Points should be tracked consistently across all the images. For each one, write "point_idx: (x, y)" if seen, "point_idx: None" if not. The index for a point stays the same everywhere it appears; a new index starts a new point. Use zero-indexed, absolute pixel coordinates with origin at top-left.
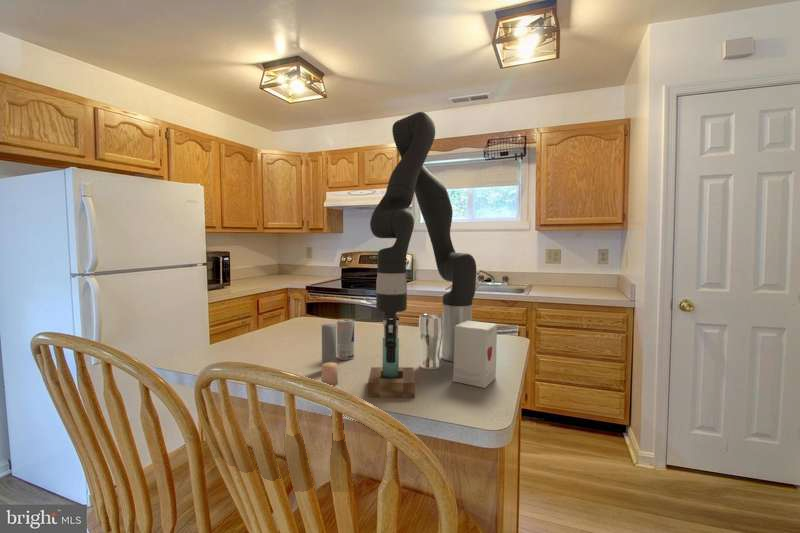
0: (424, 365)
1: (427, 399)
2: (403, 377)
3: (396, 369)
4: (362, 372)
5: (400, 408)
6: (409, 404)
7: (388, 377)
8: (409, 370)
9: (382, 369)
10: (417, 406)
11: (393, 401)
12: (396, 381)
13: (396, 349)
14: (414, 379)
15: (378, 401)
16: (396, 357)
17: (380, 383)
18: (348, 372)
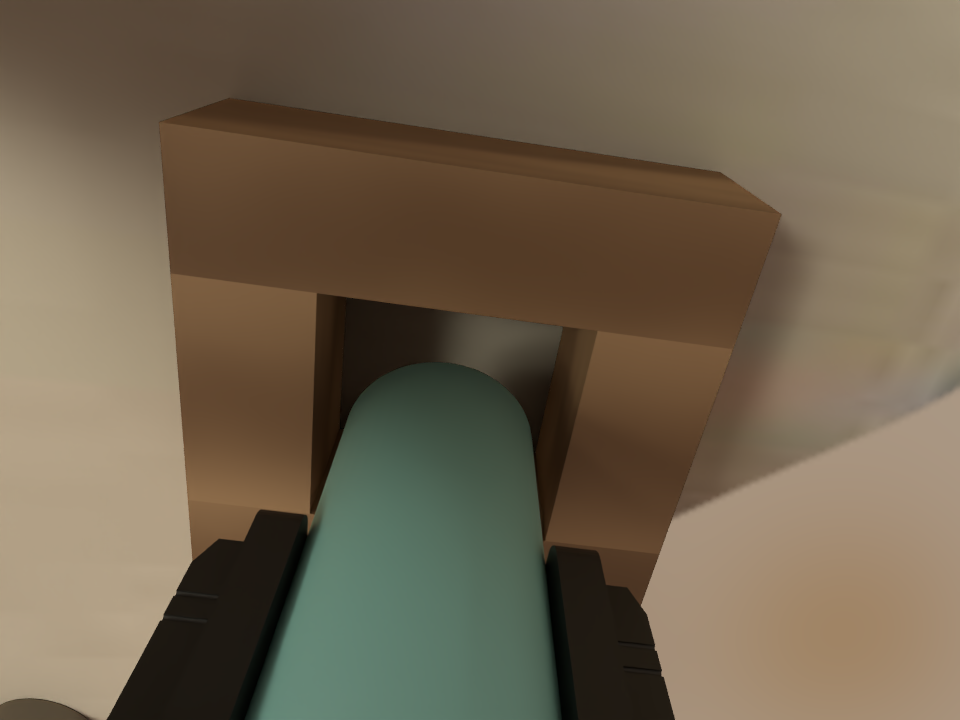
0: None
1: (812, 38)
2: (564, 321)
3: (511, 438)
4: (42, 545)
5: (902, 338)
6: (857, 251)
7: (328, 406)
8: (302, 202)
9: (264, 500)
10: (931, 185)
11: (744, 374)
12: (669, 409)
13: (534, 685)
14: (666, 197)
15: (705, 477)
16: (526, 560)
17: (657, 541)
18: (62, 632)
